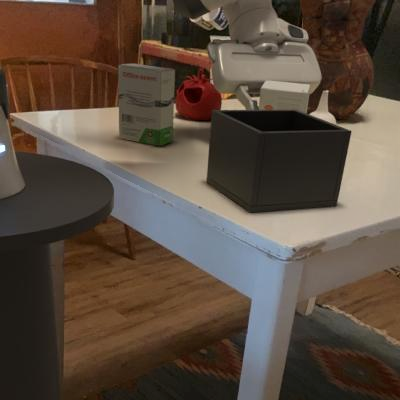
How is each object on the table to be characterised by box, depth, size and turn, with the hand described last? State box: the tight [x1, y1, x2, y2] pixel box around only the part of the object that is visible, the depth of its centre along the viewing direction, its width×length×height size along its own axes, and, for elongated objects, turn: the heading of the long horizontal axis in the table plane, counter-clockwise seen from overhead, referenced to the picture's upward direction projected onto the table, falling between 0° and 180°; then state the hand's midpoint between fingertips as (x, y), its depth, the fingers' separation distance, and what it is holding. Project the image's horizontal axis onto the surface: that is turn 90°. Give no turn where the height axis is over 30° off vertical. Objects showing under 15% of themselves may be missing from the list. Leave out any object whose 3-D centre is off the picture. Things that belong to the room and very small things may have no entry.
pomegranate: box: [174, 68, 223, 121], centre depth 124 cm, size 10×10×9 cm
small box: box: [258, 81, 310, 114], centre depth 104 cm, size 8×6×10 cm
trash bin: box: [205, 109, 353, 214], centre depth 83 cm, size 14×14×10 cm
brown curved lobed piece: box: [298, 0, 377, 120], centre depth 134 cm, size 22×21×25 cm
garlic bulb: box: [309, 90, 337, 125], centre depth 121 cm, size 6×6×8 cm
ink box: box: [117, 63, 176, 147], centre depth 104 cm, size 9×5×12 cm, turn 62°
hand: (277, 112), depth 105 cm, fingers open, 8 cm apart
